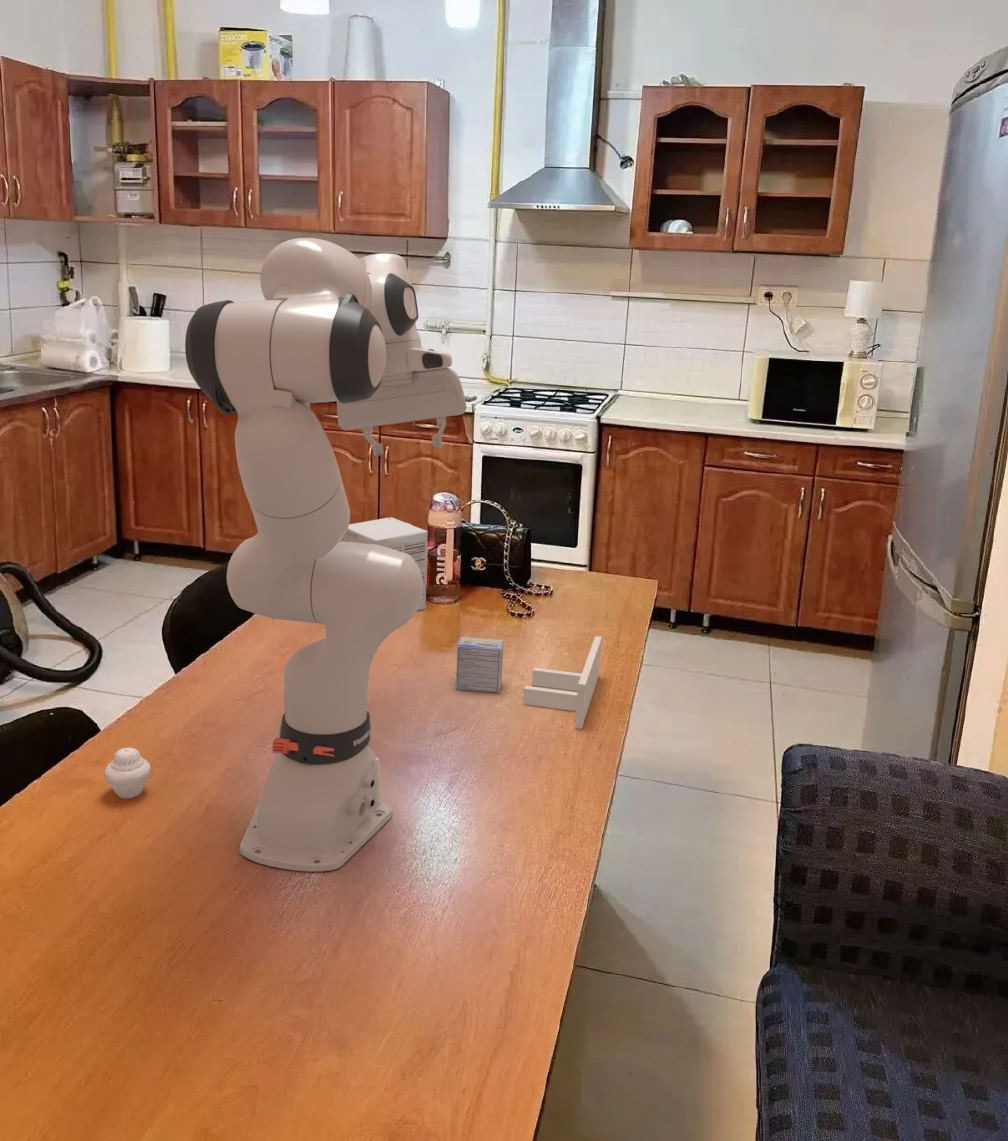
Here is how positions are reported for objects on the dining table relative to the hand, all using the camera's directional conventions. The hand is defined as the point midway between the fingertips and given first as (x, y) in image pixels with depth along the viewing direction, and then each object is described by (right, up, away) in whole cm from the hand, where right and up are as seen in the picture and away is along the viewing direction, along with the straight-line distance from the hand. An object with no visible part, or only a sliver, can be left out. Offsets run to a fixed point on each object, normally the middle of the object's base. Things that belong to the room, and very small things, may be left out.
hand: (408, 451), depth 166 cm
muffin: (-38, -51, -17) cm, 65 cm away
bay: (+24, -41, +20) cm, 52 cm away
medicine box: (+11, -40, +22) cm, 47 cm away
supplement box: (-11, -27, +59) cm, 66 cm away
